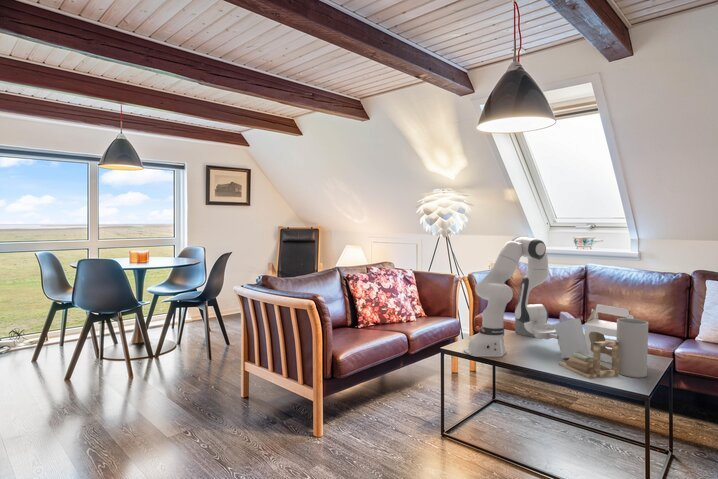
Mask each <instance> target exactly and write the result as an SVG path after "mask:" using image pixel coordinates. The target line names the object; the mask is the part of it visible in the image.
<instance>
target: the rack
mask: <svg viewBox="0 0 718 479" xmlns="http://www.w3.org/2000/svg"><path fill="white" fill-rule="evenodd" d="M601 346H605V347H606V346H607V347H609V346H611V349H612V363H611V367H610V366H609V365H606V364H603V363H601V360H600V353H601ZM566 363H567V360H562V361H558V365H559V366H561V367H564V368H565V369H568V370H569V371H572V372H574V373H576V374H578V375H579V376H582V377H584V378H586V379H594V378H595V379H596V378H605V377H607V378H608V377H618V376H619V373H618V371H619V341H617V340H605V341H601V342H594V355H593V368H594V373H591V374H585V373H582V372H580V371H578V370H576V369H574V368H572V367H570V366H567V365H566Z"/></svg>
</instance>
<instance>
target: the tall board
mask: <svg viewBox="0 0 718 479" xmlns="http://www.w3.org/2000/svg"><path fill="white" fill-rule="evenodd" d="M581 320H582V319H581V318H575V319H570V320H567V321H563V322H560V323H559V322H558V323H557V322H556V323H554V327H555V331H556V335H558V336H559V339H557V343H558V346H559V352H560V355H561V359H569V355H572V352H582V353H585V354H587V355H589V352H588V348H587V344H586V340H585V336H584V329H583V325H582V321H581Z"/></svg>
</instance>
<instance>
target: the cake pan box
mask: <svg viewBox="0 0 718 479" xmlns="http://www.w3.org/2000/svg"><path fill="white" fill-rule="evenodd" d="M570 319H576V318H575V317H574V316H573V315H572V314H570V313H569V312H568V311H559V322H558V323H560V322H563V321H567V320H570Z"/></svg>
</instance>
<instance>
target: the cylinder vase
mask: <svg viewBox="0 0 718 479" xmlns="http://www.w3.org/2000/svg"><path fill="white" fill-rule="evenodd" d="M616 323H617V337H616V341H619V371H618V375H621V376H625V377H628V378H636V379H639V378H640V379H641V378H642V379H643V378H646V377H647V375H648V351H649V346H648V345H649V343H648V342H649V321H646V320H642V319H639V318H638V319H637V318H634V319H629V318H627V317H622V318H621V317H620V318H617V319H616Z"/></svg>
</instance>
